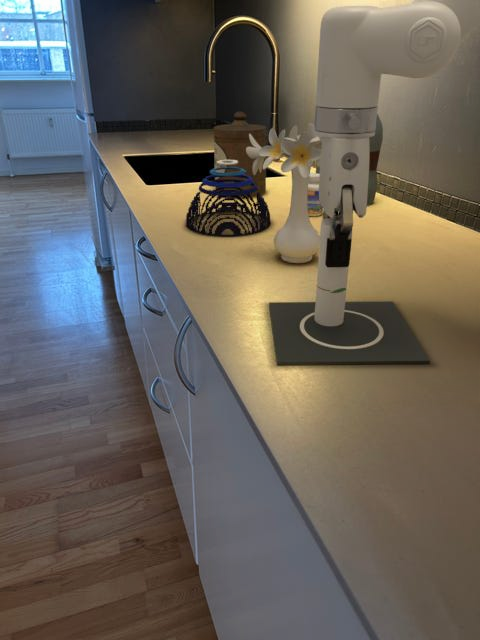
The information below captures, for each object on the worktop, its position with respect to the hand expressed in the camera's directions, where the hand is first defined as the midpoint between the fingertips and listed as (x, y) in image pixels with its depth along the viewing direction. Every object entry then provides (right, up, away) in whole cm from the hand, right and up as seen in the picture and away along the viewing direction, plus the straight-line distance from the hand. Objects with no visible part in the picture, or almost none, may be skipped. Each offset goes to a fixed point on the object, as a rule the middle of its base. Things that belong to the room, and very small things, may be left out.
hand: (333, 258), depth 72 cm
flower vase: (-3, +3, +29) cm, 30 cm away
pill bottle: (+5, +18, +58) cm, 61 cm away
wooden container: (-13, +29, +78) cm, 84 cm away
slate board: (+1, -10, +3) cm, 11 cm away
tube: (0, -9, +5) cm, 10 cm away
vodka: (+19, +23, +67) cm, 74 cm away
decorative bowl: (-16, +14, +50) cm, 55 cm away
